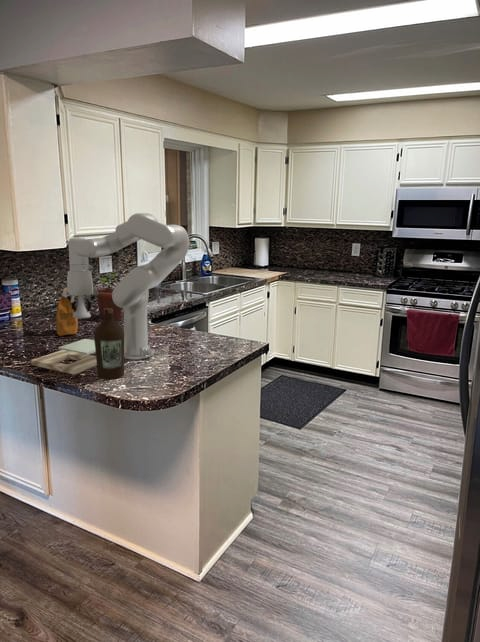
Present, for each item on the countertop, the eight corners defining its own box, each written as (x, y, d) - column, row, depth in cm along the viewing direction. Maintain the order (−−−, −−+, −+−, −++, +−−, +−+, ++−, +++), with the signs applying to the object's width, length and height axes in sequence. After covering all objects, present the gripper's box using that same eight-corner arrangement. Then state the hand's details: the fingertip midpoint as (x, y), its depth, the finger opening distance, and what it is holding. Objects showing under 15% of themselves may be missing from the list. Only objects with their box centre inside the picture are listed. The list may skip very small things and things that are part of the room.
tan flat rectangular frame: (104, 362, 183) (104, 357, 183) (74, 374, 169) (73, 369, 169) (63, 354, 193) (63, 349, 192) (31, 365, 178) (31, 360, 178)
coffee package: (78, 329, 233) (76, 286, 228) (78, 335, 221) (75, 290, 216) (57, 330, 230) (54, 287, 225) (56, 337, 218) (53, 291, 213)
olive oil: (94, 372, 172) (91, 307, 167) (123, 369, 177) (120, 305, 171) (97, 381, 163) (94, 313, 157) (128, 378, 167) (125, 311, 161)
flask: (84, 314, 202) (83, 292, 199) (94, 317, 197) (93, 294, 195) (69, 317, 196) (68, 294, 194) (79, 320, 192) (78, 296, 189)
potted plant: (124, 314, 268) (123, 272, 262) (133, 322, 249) (132, 277, 244) (93, 317, 260) (90, 273, 255) (99, 325, 242) (97, 278, 236)
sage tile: (112, 345, 206) (112, 343, 206) (86, 355, 192) (86, 352, 192) (85, 340, 213) (85, 338, 213) (58, 349, 199) (58, 347, 199)
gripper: (99, 266, 198) (101, 308, 203) (57, 267, 192) (60, 310, 196) (101, 269, 192) (103, 311, 196) (57, 269, 185) (60, 313, 190)
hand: (81, 310), depth 196 cm, fingers closed on flask, 5 cm apart
